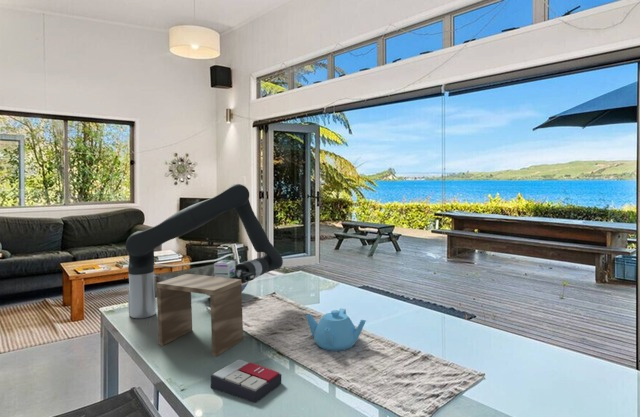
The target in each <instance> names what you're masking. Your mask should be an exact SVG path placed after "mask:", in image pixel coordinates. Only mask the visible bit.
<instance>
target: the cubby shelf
mask: <svg viewBox="0 0 640 417" xmlns="http://www.w3.org/2000/svg"><path fill="white" fill-rule="evenodd" d="M155 284H156V285H155V287H156V301H157V302H156V304H157V322H158V325H157V326H158V343H159V344H158V345H159V346H162V347H163V346H165V345H167V344H169V343H170V342H173V341H175V340H177V339H178V338H181V337H183V336H185V335H187V334H189V333H190V332H193V313H192V312H193V311H192V308H193V307H192V293H193V294H203V295H206V294H208V295H210V296H209V297H210V302H209V303H210V322H211V323H210V327H211V328H210V329H211V351H212V352H211V354H212V357H215V358H216V357H218V356H220V355H222V354H223V353H225V352H226V351H228V350H229V349H231V348H233V347H234V346H236V345H238V344H240V343H241V342H242V341H243V340H244V326H243V325H244V324H243V323H244V321H243V291H242V284H241V279H232V278H223V277H214V275H202V274H194V273H185V274H181V275H178V276H175V277H171V278H168V279H164V280H161V281H159V282H155ZM208 295H207V296H208Z"/></svg>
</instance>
